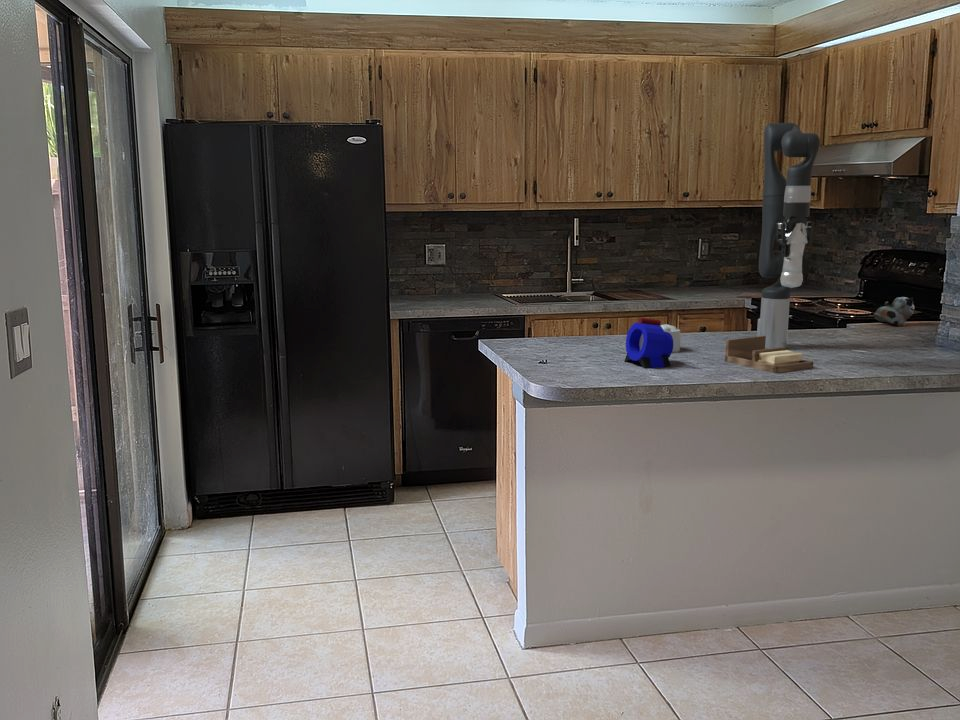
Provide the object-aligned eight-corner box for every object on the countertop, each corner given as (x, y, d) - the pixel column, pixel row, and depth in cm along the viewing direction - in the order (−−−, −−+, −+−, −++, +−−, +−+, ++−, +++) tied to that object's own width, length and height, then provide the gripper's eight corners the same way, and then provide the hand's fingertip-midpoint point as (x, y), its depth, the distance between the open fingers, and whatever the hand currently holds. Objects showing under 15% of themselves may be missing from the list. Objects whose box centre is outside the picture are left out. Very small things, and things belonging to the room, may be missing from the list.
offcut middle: (756, 366, 265) (756, 360, 265) (782, 363, 271) (782, 356, 270) (773, 370, 260) (773, 363, 259) (799, 366, 265) (799, 360, 265)
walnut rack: (724, 365, 274) (726, 339, 272) (761, 360, 281) (763, 335, 280) (774, 377, 256) (776, 350, 255) (812, 371, 264) (814, 345, 263)
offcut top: (758, 359, 265) (759, 353, 265) (786, 356, 270) (786, 350, 270) (774, 363, 260) (774, 356, 259) (802, 360, 264) (802, 353, 264)
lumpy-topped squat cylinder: (683, 351, 296) (684, 326, 294) (649, 354, 292) (650, 328, 290) (667, 346, 306) (668, 322, 304) (633, 348, 302) (634, 323, 300)
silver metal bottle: (775, 286, 274) (779, 221, 270) (791, 285, 276) (796, 221, 272) (790, 289, 268) (794, 222, 264) (807, 288, 271) (811, 222, 267)
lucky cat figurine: (876, 320, 365) (896, 291, 362) (903, 335, 358) (923, 305, 356) (868, 314, 353) (888, 284, 350) (896, 329, 346) (917, 298, 343)
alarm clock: (622, 361, 279) (623, 315, 276) (655, 359, 283) (657, 313, 281) (642, 369, 268) (644, 320, 265) (677, 366, 272) (679, 318, 269)
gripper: (803, 200, 274) (799, 254, 277) (770, 201, 267) (767, 256, 270) (823, 201, 267) (819, 256, 271) (790, 201, 260) (786, 258, 264)
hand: (793, 256), depth 270 cm, fingers closed on silver metal bottle, 6 cm apart
